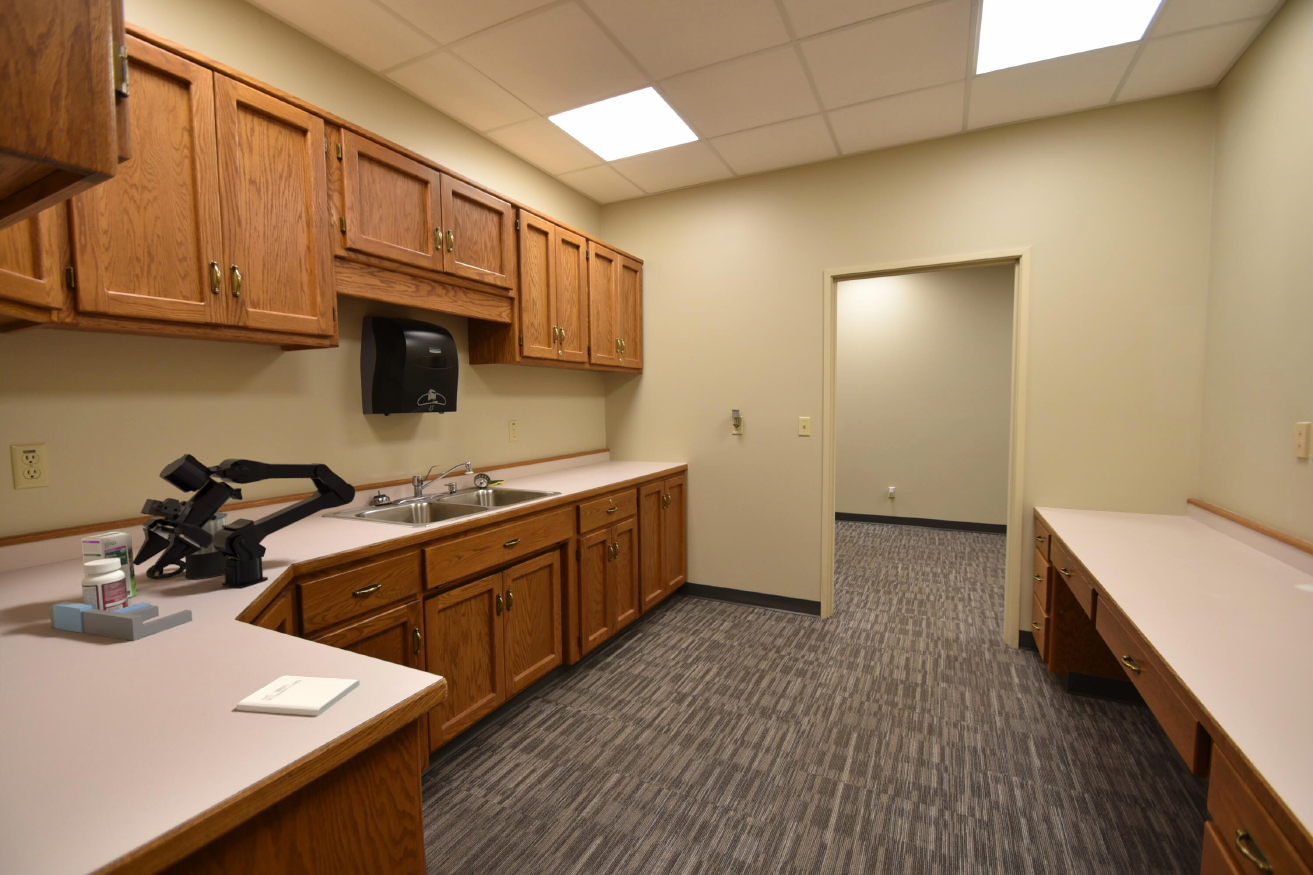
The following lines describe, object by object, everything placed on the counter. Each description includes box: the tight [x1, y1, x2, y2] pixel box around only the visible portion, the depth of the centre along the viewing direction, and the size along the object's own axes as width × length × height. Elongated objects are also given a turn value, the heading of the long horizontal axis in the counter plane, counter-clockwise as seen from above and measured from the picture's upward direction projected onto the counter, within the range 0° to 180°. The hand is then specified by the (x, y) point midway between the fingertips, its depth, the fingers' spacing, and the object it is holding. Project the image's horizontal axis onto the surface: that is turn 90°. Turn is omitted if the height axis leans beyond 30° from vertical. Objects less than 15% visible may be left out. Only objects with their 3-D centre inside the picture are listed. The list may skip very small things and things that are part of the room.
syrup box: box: [80, 531, 137, 599], centre depth 120 cm, size 6×6×14 cm
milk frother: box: [145, 512, 229, 580], centre depth 137 cm, size 14×16×15 cm
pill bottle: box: [81, 558, 129, 611], centre depth 109 cm, size 6×6×11 cm
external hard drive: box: [236, 675, 361, 717], centre depth 78 cm, size 2×8×12 cm
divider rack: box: [49, 601, 193, 641], centre depth 107 cm, size 24×10×5 cm, turn 73°
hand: (144, 567), depth 114 cm, fingers open, 9 cm apart
